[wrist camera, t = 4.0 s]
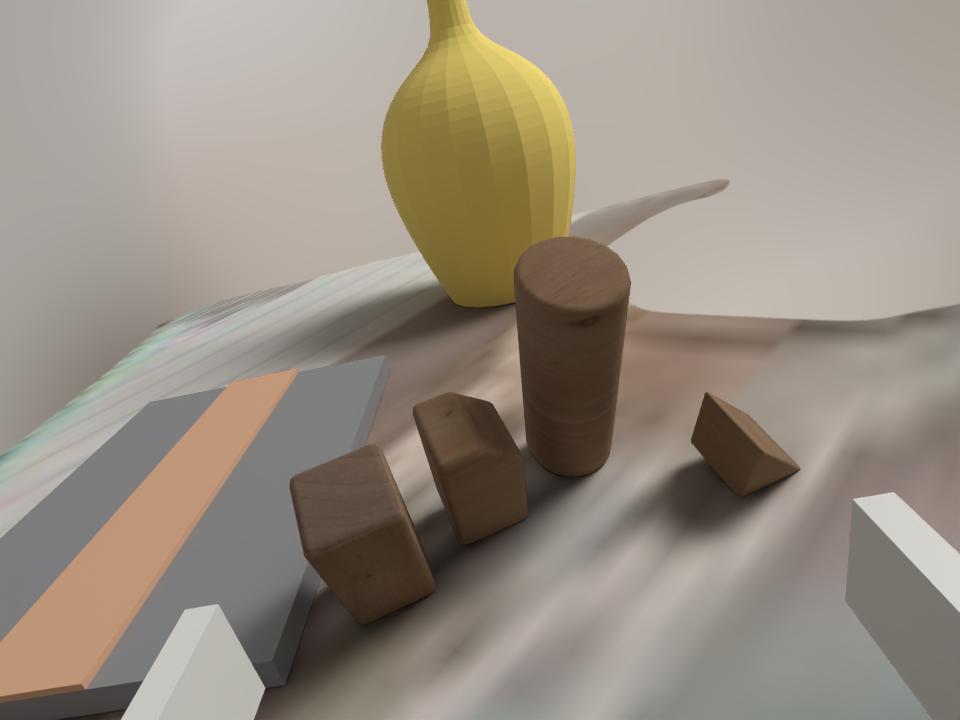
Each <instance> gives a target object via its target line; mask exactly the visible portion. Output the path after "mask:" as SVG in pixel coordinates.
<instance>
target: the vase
mask: <svg viewBox="0 0 960 720" xmlns="http://www.w3.org/2000/svg"><path fill="white" fill-rule="evenodd" d="M427 3H428V9H429V18H430V32H431V35H430V39H429V44H428V48H427V49H426V51H425V53H424V55H423V57H422V58H421V60H420V62H419V63H418V64H417V65H416V67H415V68H414V69H413V71H412V72H411V73H410V75H409V76H408V77H407V79H406V80H405V81H404V83H403V84H402V86H401V87H400V88H399V90H398V92H397V93H396V95H395V97H394V99H393V100H392V103H391V104H390V107H389V110H388V112H387V115H386V118H385V122H384V126H383V132H382V145H381V149H382V162H383V169H384V173H385V178H386V182H387V185H388V188H389V191H390V194H391V196H392V199H393V201H394V204H395V206H396V208H397V210H398V212H399V214H400V217H401V218H402V221H403V223H404V224H405V226H406V228H407V230H408V232H409V234H410V236H411V237H412V239H413V241H414V243H415V244H416V246H417V248H418V249H419V251H420V253H421V254H422V256H423V258H424V259H425V261H426V262H427V264H428V265H429V267H430V269H431V270H432V272H433V273H434V275H435V276H436V278H437V279H438V281H439V282H440V284H441V285H442V286H443V288H444V289H445V291H446V292H447V294H448V295H449V296H450V298H451V299H452V300H453V301H454V302H455V304H458V305H461V306H465V307H490V306H499V305H504V304H509V303H514V302H515V291H514V269H515V267H516V264H517V262H518V260H519V258H520V255H522V254H523V253H524V252H525V251H526V250H527V249H528V248H529V247H530V246H532V245H534V244H536V243H538V242H540V241H542V240H546V239H550V238H554V237H568V236H569V230H570V224H571V217H572V209H573V200H574V190H575V174H576V153H575V140H574V134H573V128H572V124H571V120H570V117H569V113H568V111H567V108H566V105H565V103H564V101H563V99H562V97H561V95H560V93H559V92H558V90H557V89H556V87H555V86H554V84H553V83H552V82H551V81H550V79H549V78H548V77H547V76H546V75H545V74H544V73H543V72H542V71H541V70H540V69H539V68H538V67H536V66H535V65H534V64H532V63H531V62H530V61H528V60H526V59H525V58H523V57H522V56H520V55H518V54H516V53H514V52H512V51H510V50H508V49H506V48H504V47H502V46H499V45H498V44H496V43H494V42H492V41H491V40H489V39H488V38H486V37H485V36H484V35H482V34H481V33H480V32H479V30H478V29H477V28H476V26H475V25H474V24H473V21H472V18H471V15H470V13H469V10H468V6H467V3H466V0H427Z"/></svg>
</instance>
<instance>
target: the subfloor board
mask: <svg viewBox="0 0 960 720" xmlns="http://www.w3.org/2000/svg"><path fill="white" fill-rule="evenodd" d="M389 372H390V368H389V365H388V361H387V358H386V355H382V356H377V357H372V358H367V359H362V360H357V361H352V362H347V363H342V364H338V365H333V366H328V367H323V368H318V369H313V370H308V371H303V372H298V370H297V369H293V370H288V371H283V372H278V373H273V374H268V375H264V376H259V377H254V378H249V379H244V380H239V381H234V382H231V383H230V384H229V385H228V386H227V387H224V388H219V389H214V390H209V391H204V392H199V393H194V394H189V395H184V396H179V397H174V398H169V399H164V400H159V401H154V402H150V403H149V404H148V405H146V406H145V407H144V408H143V409H142V410H141V411H140V412H139V413H138V414H137V415H135V416H134V417H133V418H132V419H131V420H130V421H129V422H128V423H127V424H126V425H124V426H123V427H122V428H121V429H120V430H119V431H118V432H117V433H116V434H115V435H114V436H112V437H111V438H110V439H109V440H108V441H107V442H106V443H105V444H104V445H103V446H101V447H100V448H99V449H98V450H97V451H96V452H95V453H94V454H93V455H92V456H90V457H89V458H88V459H87V460H86V461H85V462H84V463H83V464H82V465H81V466H79V467H78V468H77V469H76V470H75V471H74V472H73V473H72V474H71V475H70V476H69V477H67V478H66V479H65V480H64V481H63V482H62V483H61V484H60V485H59V486H58V487H56V488H55V489H54V490H53V491H52V492H51V493H50V494H49V495H48V496H47V497H45V498H44V499H43V500H42V501H41V502H40V503H39V504H38V505H37V506H36V507H34V508H33V509H32V510H31V511H30V512H29V513H28V514H27V515H26V516H25V517H23V518H22V519H21V520H20V521H19V522H18V523H17V524H16V525H15V526H14V527H13V528H11V529H10V530H9V531H8V532H7V533H6V534H5V535H4V536H3V537H2V538H0V720H58V719H65V718H71V717H78V716H84V715H91V714H98V713H104V712H111V711H117V710H124V709H127V708H128V707H129V705H130V703H131V701H132V700H133V698H134V696H135V695H136V693H137V691H138V689H139V688H140V686H141V684H142V682H143V681H144V679H145V677H146V676H147V674H148V672H149V670H150V669H151V667H152V665H153V664H154V662H155V660H156V658H157V657H158V655H159V653H160V652H161V650H162V648H163V646H164V645H165V643H166V641H167V640H168V638H169V636H170V634H171V633H172V631H173V629H174V627H175V626H176V624H177V622H178V621H179V619H180V617H181V615H182V614H183V612H184V610H185V609H191V608H197V607H203V606H209V605H215V604H219V606H220V608H221V610H222V612H223V613H224V615H225V617H226V619H227V620H228V622H229V624H230V626H231V628H232V629H233V631H234V633H235V635H236V637H237V638H238V640H239V642H240V644H241V645H242V647H243V649H244V651H245V653H246V654H247V656H248V658H249V660H250V662H251V663H252V665H253V667H254V669H255V671H256V672H257V674H258V676H259V678H260V679H261V681H262V683H263V685H264V687H265V688H269V687H276V686H283V685H285V684H286V681H287V678H288V675H289V672H290V669H291V666H292V663H293V660H294V657H295V654H296V651H297V648H298V645H299V642H300V639H301V636H302V633H303V630H304V627H305V624H306V621H307V618H308V615H309V612H310V609H311V606H312V603H313V600H314V597H315V594H316V591H317V588H318V585H319V582H320V579H321V577H320V575H319V574H318V573H317V572H316V570H315V569H314V568H313V567H312V565H311V564H310V563H309V562H308V561H307V559H306V558H305V557H304V554H303V549H302V544H301V540H300V535H299V530H298V526H297V521H296V516H295V512H294V507H293V502H292V498H291V493H290V488H289V486H290V479H291V478H292V477H293V476H294V475H296V474H299V473H301V472H303V471H306V470H308V469H311V468H313V467H316V466H318V465H321V464H323V463H326V462H328V461H331V460H333V459H336V458H338V457H341V456H343V455H346V454H348V453H351V452H353V451H355V450H358V449H360V448H363V447H365V444H366V441H367V438H368V435H369V432H370V429H371V426H372V423H373V420H374V417H375V414H376V411H377V408H378V405H379V402H380V399H381V396H382V393H383V390H384V387H385V384H386V381H387V378H388V375H389Z"/></svg>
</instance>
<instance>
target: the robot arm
mask: <svg viewBox="0 0 960 720" xmlns="http://www.w3.org/2000/svg"><path fill="white" fill-rule="evenodd" d="M845 601H846V603H847V604H848V605H849V607H850V608H851V609H852V611H853V612H854V613H855V615H856V616H857V618H858V619H859V620H860V622H861V623H862V624H863V626H864V627H865V628H866V630H867V631H868V632H869V634H870V635H871V637H872V638H873V639H874V641H875V642H876V643H877V645H878V646H879V647H880V649H881V650H882V651H883V653H884V654H885V656H886V657H887V658H888V660H889V661H890V662H891V664H892V665H893V666H894V668H895V669H896V671H897V672H898V673H899V675H900V676H901V677H902V679H903V680H904V681H905V683H906V684H907V685H908V687H909V688H910V690H911V691H912V692H913V694H914V695H915V696H916V698H917V699H918V700H919V702H920V703H921V704H922V706H923V707H924V709H925V710H926V711H927V713H928V714H929V715H930V717H931V718H932V719H933V720H960V554H959V553H958V552H957V551H956V550H955V549H954V548H953V547H952V546H950V545H949V544H948V543H947V542H946V541H945V540H944V539H943V538H942V537H941V536H940V535H939V534H938V533H937V532H936V531H935V530H933V529H932V528H931V527H930V526H929V525H928V524H927V523H926V522H925V521H924V520H923V519H922V518H921V517H920V516H919V515H917V514H916V513H915V512H914V511H913V510H912V509H911V508H910V507H909V506H908V505H907V504H906V503H905V502H904V501H903V500H901V499H900V498H899V497H898V496H897V495H896V494H895V493H894V492H893V493H887V494H881V495H875V496H869V497H863V498H857V499H853V502H852V516H851V530H850V543H849V557H848V571H847V584H846V598H845ZM264 690H265V687H264V685H263V683H262V681H261V679H260V678H259V676H258V674H257V672H256V671H255V669H254V667H253V665H252V663H251V662H250V660H249V658H248V656H247V654H246V653H245V651H244V649H243V647H242V645H241V644H240V642H239V640H238V638H237V637H236V635H235V633H234V631H233V629H232V628H231V626H230V624H229V622H228V620H227V619H226V617H225V615H224V613H223V612H222V610H221V608H220V606H219V604H215V605H209V606H203V607H197V608H191V609H185V610H184V612H183V614H182V615H181V617H180V619H179V621H178V622H177V624H176V626H175V627H174V629H173V631H172V633H171V634H170V636H169V638H168V640H167V641H166V643H165V645H164V646H163V648H162V650H161V652H160V653H159V655H158V657H157V658H156V660H155V662H154V664H153V665H152V667H151V669H150V670H149V672H148V674H147V676H146V677H145V679H144V681H143V682H142V684H141V686H140V688H139V689H138V691H137V693H136V695H135V696H134V698H133V700H132V701H131V703H130V705H129V707H128V708H127V710H126V712H125V713H124V715H123V717H122V719H121V720H254V718H255V715H256V712H257V710H258V707H259V704H260V701H261V699H262V696H263V693H264Z"/></svg>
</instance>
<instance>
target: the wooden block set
mask: <svg viewBox="0 0 960 720" xmlns="http://www.w3.org/2000/svg"><path fill="white" fill-rule="evenodd" d="M630 286H631V281H630V277H629V272H628V269H627V267H626V265H625V264H624V262H623V261H622V259H621V258H620V257H619V255H618V254H616V253H615V252H614V251H612V250H611V249H610V248H608V247H607V246H605V245H603V244H601V243H598V242H596V241H593V240H591V239H585V238H580V237H574V236H572V237H554V238H550V239H546V240H542V241H540V242H538V243H536V244H534V245H532V246H530V247H529V248H528V249H527V250H526V251H525V252H524V253H523V254H522V255H520V258H519V260H518V262H517V264H516V267H515V269H514V291H515V303H516V316H517V329H518V342H519V354H520V367H521V380H522V392H523V405H524V418H525V430H526V442H527V444H528V447H529V449H530V452H531V454H532V455H533V456H534V457H535V458H536V460H537V461H538V462H539V463H540V464H541V465H542V466H544V467H545V468H547V469H548V470H550V471H551V472H553V473H556V474H559V475H562V476H574V477H579V476H583V475H587V474H590V473H593V472H594V471H596V470H597V469H599V468H600V467H602V466H603V464H604V463H605V461H606V460H607V458H608V457H609V454H610V449H611V445H612V436H613V428H614V420H615V411H616V403H617V395H618V386H619V378H620V370H621V361H622V353H623V345H624V336H625V328H626V320H627V311H628V303H629V295H630ZM413 416H414V419H415V422H416V425H417V428H418V431H419V435H420V438H421V441H422V444H423V447H424V450H425V453H426V456H427V459H428V462H429V466H430V469H431V472H432V475H433V478H434V481H435V484H436V487H437V490H438V493H439V495H440V498H441V500H442V502H443V505H444V507H445V509H446V512H447V514H448V517H449V519H450V521H451V524H452V526H453V528H454V531H455V533H456V535H457V538H458V540H459V542H460V543H461V544H462V545H468V544H470V543H472V542H475V541H477V540H479V539H482V538H484V537H486V536H489V535H491V534H493V533H495V532H498V531H500V530H502V529H504V528H506V527H509V526H511V525H513V524H515V523H517V522H520V521H522V520H524V519H525V518H526V517H527V516H528V509H527V498H526V487H525V476H524V465H523V456H522V454H521V453H520V451H519V449H518V447H517V446H516V444H515V442H514V440H513V439H512V437H511V435H510V433H509V432H508V430H507V428H506V427H505V425H504V423H503V421H502V420H501V418H500V416H499V414H498V413H497V411H496V409H495V407H494V406H493V404H491V403H490V402H488V401H485V400H481V399H476V398H472V397H468V396H464V395H460V394H456V393H445V394H442V395H439V396H437V397H434V398H432V399H429V400H427V401H424V402H421V403H419V404H417V405H415V406H414V407H413ZM691 443H692V444H693V445H694V446H695V447H696V449H697V450H698V451H699V452H700V453H701V455H702V456H703V457H704V458H705V459H706V460H707V462H708V463H709V464H710V465H711V466H712V467H713V469H714V470H715V471H716V472H717V473H718V475H719V476H720V477H721V478H722V479H723V480H724V482H725V483H726V484H727V485H728V486H729V488H730V489H731V490H732V491H733V492H734V493H735V494H737V495H738V496H740V497H744V496H746V495H748V494H750V493H752V492H754V491H756V490H759V489H761V488H763V487H765V486H767V485H769V484H771V483H774V482H776V481H778V480H780V479H782V478H784V477H786V476H789V475H791V474H793V473H795V472H797V471H799V470H800V467H799V466H798V465H797V464H796V463H795V462H794V461H793V460H792V459H791V458H790V457H789V456H788V454H787V453H786V452H785V451H784V450H783V449H782V448H781V447H780V446H779V445H778V444H777V443H776V442H775V441H774V440H773V439H772V438H771V437H770V436H769V435H768V434H767V433H766V432H765V431H764V430H763V429H762V428H761V427H760V426H759V425H758V424H757V423H756V422H755V421H754V420H753V419H752V418H751V417H750V416H749V415H748V414H746V413H744V412H742V411H741V410H739V409H737V408H735V407H734V406H732V405H730V404H728V403H727V402H725V401H723V400H721V399H720V398H718V397H716V396H714V395H713V394H711V393H709V392H706V393H705V396H704V399H703V402H702V405H701V409H700V412H699V415H698V419H697V422H696V425H695V428H694V432H693V435H692V438H691ZM289 488H290V493H291V498H292V502H293V507H294V512H295V516H296V521H297V526H298V530H299V535H300V540H301V544H302V549H303V554H304V557H305V558H306V559H307V561H308V562H309V563H310V564H311V565H312V567H313V568H314V569H315V570H316V572H317V573H318V574H319V575H320V577H321V578H322V579H323V580H324V581H325V583H326V584H327V585H328V586H329V588H330V589H331V590H332V591H333V593H334V594H335V595H336V596H337V597H338V599H339V600H340V601H341V602H342V604H343V605H344V606H345V607H346V609H347V610H348V611H349V612H350V613H351V615H352V616H353V617H354V618H355V620H356V621H357V622H358V623H359V624H360V625H361V624H368V623H370V622H372V621H374V620H376V619H378V618H380V617H383V616H385V615H387V614H389V613H391V612H393V611H395V610H398V609H400V608H402V607H404V606H406V605H408V604H410V603H413V602H415V601H417V600H419V599H421V598H423V597H425V596H427V595H430V594H431V593H432V592H433V591H434V590H435V581H434V578H433V575H432V573H431V570H430V567H429V565H428V562H427V559H426V557H425V554H424V551H423V549H422V546H421V543H420V540H419V538H418V535H417V532H416V530H415V527H414V525H413V522H412V520H411V518H410V515H409V513H408V510H407V508H406V506H405V503H404V501H403V499H402V496H401V494H400V492H399V489H398V487H397V484H396V482H395V480H394V477H393V475H392V473H391V470H390V468H389V466H388V463H387V461H386V458H385V456H384V454H383V451H382V450H381V449H380V448H379V447H378V446H377V445H376V444H373V445H368V446H365V447H363V448H360V449H358V450H355V451H353V452H351V453H348V454H346V455H343V456H341V457H338V458H336V459H333V460H331V461H328V462H326V463H323V464H321V465H318V466H316V467H313V468H311V469H308V470H306V471H303V472H301V473H299V474H296V475H294V476H293V477H292V478H291V479H290V486H289Z"/></svg>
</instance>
